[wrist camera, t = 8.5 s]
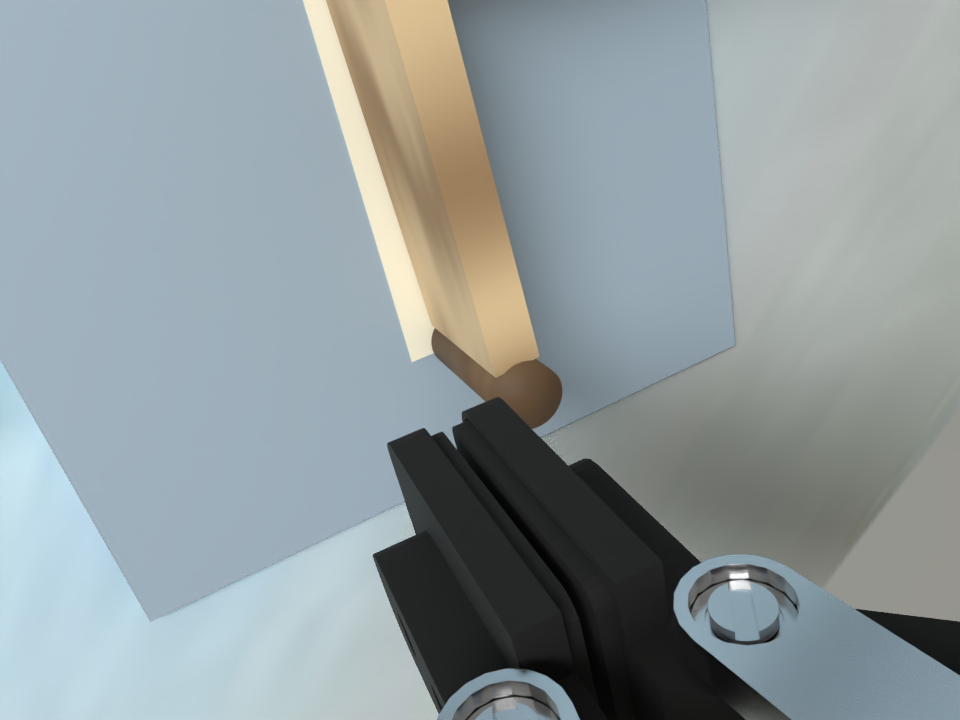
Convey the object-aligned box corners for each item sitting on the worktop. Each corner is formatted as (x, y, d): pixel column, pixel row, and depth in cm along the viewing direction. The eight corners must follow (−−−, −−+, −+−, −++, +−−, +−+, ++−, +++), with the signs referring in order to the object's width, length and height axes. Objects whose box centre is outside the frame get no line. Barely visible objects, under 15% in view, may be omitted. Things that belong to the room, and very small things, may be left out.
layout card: (675, -416, 19) (685, -424, 18) (738, 337, 28) (745, 341, 28) (-363, -283, 13) (-374, -291, 13) (149, 615, 22) (150, 623, 22)
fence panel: (308, -25, 18) (369, -39, 14) (374, -45, 18) (450, -63, 15) (440, 374, 23) (511, 440, 19) (489, 350, 23) (568, 411, 20)
